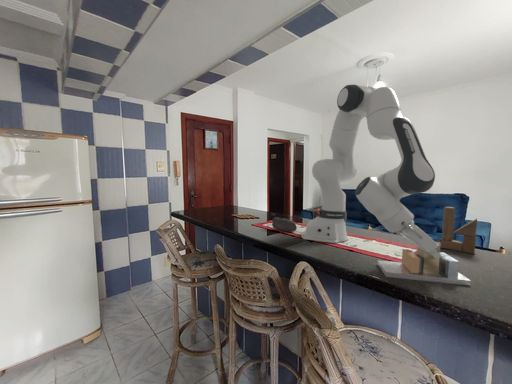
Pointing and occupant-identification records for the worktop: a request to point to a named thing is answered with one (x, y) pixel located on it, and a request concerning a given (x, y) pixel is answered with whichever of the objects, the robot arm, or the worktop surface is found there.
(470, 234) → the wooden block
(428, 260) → the beech block
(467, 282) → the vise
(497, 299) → the worktop surface
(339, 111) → the robot arm
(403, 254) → the block
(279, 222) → the perforated stone tool
